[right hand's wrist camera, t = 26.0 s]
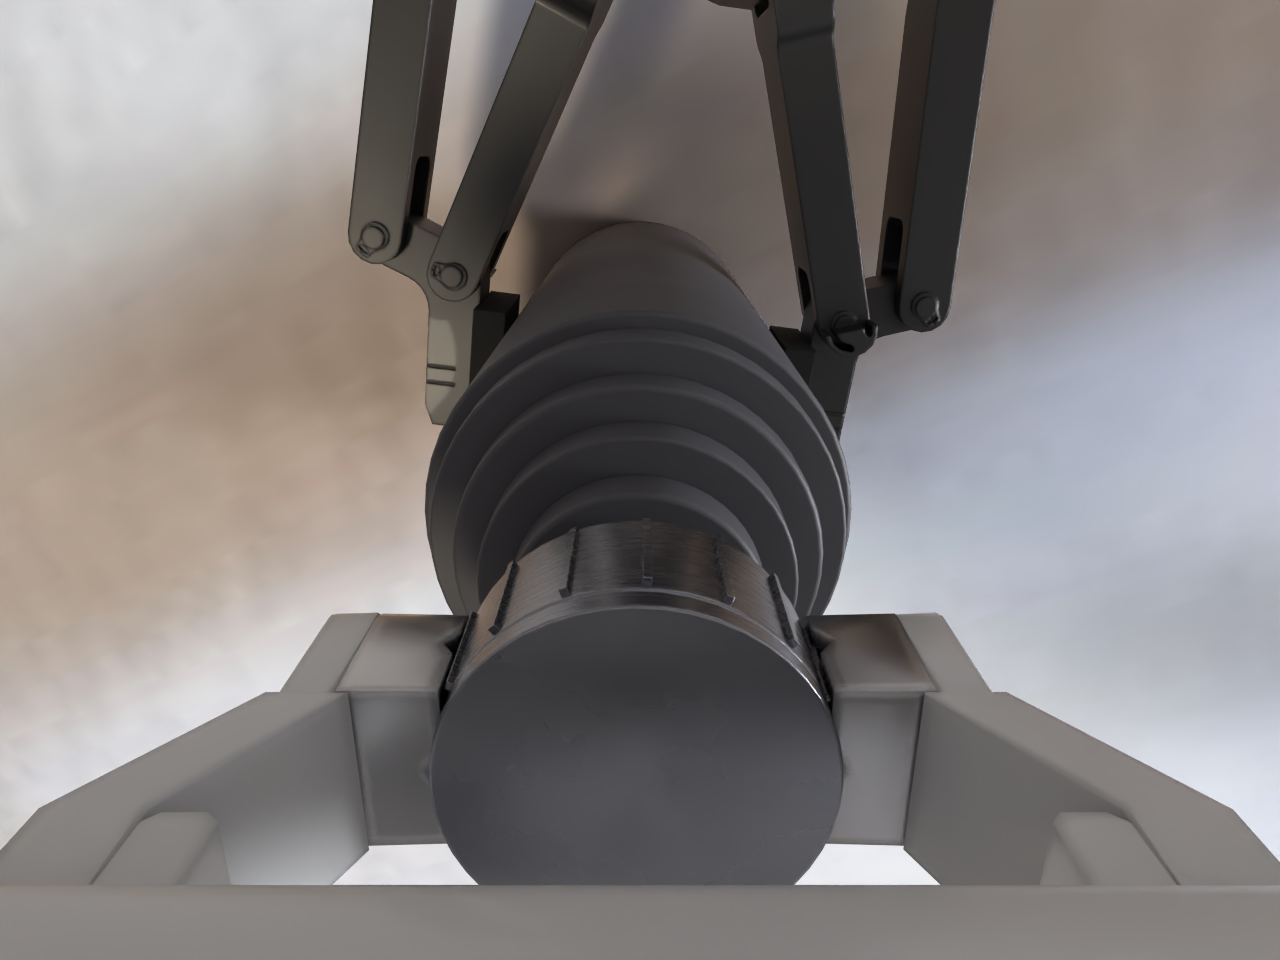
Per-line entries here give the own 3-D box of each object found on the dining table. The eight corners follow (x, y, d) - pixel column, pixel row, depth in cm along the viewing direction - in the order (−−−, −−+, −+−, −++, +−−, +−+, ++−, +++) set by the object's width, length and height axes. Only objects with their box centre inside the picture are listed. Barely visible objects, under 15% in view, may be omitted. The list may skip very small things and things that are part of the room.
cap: (669, 865, 11) (674, 1004, 9) (397, 706, 10) (345, 824, 8) (883, 645, 10) (936, 754, 8) (597, 445, 9) (588, 518, 7)
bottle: (785, 300, 28) (1120, 662, 8) (667, 465, 30) (716, 1070, 10) (608, 177, 27) (519, 268, 7) (496, 358, 29) (188, 818, 9)
